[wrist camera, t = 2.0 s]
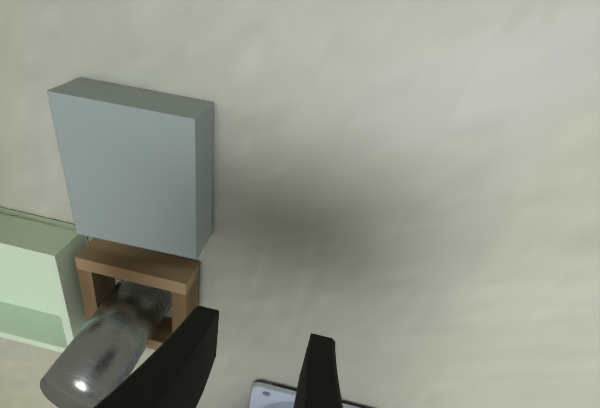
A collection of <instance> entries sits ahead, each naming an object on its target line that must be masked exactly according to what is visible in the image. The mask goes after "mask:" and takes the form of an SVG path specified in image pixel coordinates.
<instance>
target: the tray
mask: <svg viewBox="0 0 600 408" xmlns="http://www.w3.org/2000/svg"><path fill="white" fill-rule="evenodd" d="M87 244H88V239H87V236H85V235H81V234H77V232H76V228H75V225H73V224H69V223H65V222H61V221H56V220H52V219H48V218H44V217H40V216H35V215H31V214H27V213H23V212H19V211H14V210H10V209H6V208H2V207H0V337H4V338H7V339H11V340H15V341H19V342H23V343H27V344H31V345H35V346H39V347H43V348H46V349H50V350H54V351H58V352H62V353H63V351H64V350H65V349H66V348H67V346H68V345H69V344H70V343H71V341H72V340H73V339H74V338H75V336H76V335H77V334H78V333H79V331H80V330H81V329H82V327H83V326H84V325H85V324H86V322H87V318H86V313H85V308H84V303H83V298H82V292H81V287H80V282H79V277H78V272H77V267H76V261H75V256H76V255H77V254H78V253H79V252H80V251H81V250H82V249H83V248H84V247H85V246H86V245H87Z"/></svg>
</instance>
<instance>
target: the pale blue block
mask: <svg viewBox="0 0 600 408" xmlns="http://www.w3.org/2000/svg"><path fill="white" fill-rule="evenodd" d="M47 94H48V99H49V104H50V109H51V113H52V118H53V123H54V128H55V132H56V137H57V142H58V147H59V151H60V156H61V161H62V166H63V170H64V175H65V180H66V185H67V189H68V194H69V199H70V204H71V209H72V213H73V218H74V223H75V228H76V232H77V234H81V235H85V236H90V237H95V238H99V239H104V240H108V241H113V242H118V243H122V244H127V245H132V246H136V247H141V248H146V249H150V250H155V251H159V252H164V253H169V254H173V255H178V256H183V257H187V258H192V259H197V257H198V256H199V254H200V252H201V251H202V249H203V247H204V246H205V244H206V242H207V241H208V239H209V237H210V236H211V234H212V195H213V133H214V102H210V101H205V100H199V99H194V98H189V97H183V96H178V95H173V94H167V93H162V92H157V91H152V90H146V89H141V88H136V87H130V86H125V85H120V84H114V83H109V82H104V81H98V80H93V79H88V78H83V77H80V78H77V79H75V80H72V81H70V82H67V83H65V84H63V85H60V86H58V87H55V88H53V89H50V90H48V91H47Z"/></svg>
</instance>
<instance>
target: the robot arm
mask: <svg viewBox="0 0 600 408" xmlns="http://www.w3.org/2000/svg"><path fill="white" fill-rule="evenodd" d="M218 320H219V311H218V310H214V309H210V308H206V307H202V306H197V307H195V308H194V309H193V310H192V312H191V313H190V314H189V315H188V316H187V318H186V319H185V320H184V321H183V322H182V323H181V324H180V326H179V327H178V328H177V329H176V330H175V331H174V332H173V333H172V334H171V335H170V336H169V337H168V339H167V340H166V341H165V342H164V343H163V344H162V345H161V346H160V347H159V348H158V349H157V350H156V351H155V352H154V353H153V354H152V355H151V356H150V357H149V358H148V359H147V360H146V361H145V362H144V363H143V364H142V365H141V366H140V367H139V368H138V369H136V370H135V371H134V372H133V373H132V374H131V375H130V376H129V377H128V378H127V379H125V380H124V381H123V382H122V383H121V384H120V385H119V386H118V387H117V388H116V389H114V390H113V391H112V392H111V393H110V394H109V395H108V396H106V397H105V398H104V399H103V400H102V401H101V402H99V403H98V404H97V405H96V406H95V407H93V408H196V406H197V404H198V402H199V400H200V397H201V395H202V393H203V391H204V388H205V385H206V383H207V380H208V377H209V374H210V371H211V368H212V366H213V363H214V360H215V357H216V348H217V334H218ZM249 408H360V407H356V406H352V405H348V404H344V403H342V400H341V394H340V388H339V381H338V374H337V366H336V353H335V341H334V340H333V339H332V338H329V337H325V336H320V335H316V334H312V333H311V335H310V339H309V343H308V347H307V350H306V354H305V358H304V362H303V366H302V369H301V373H300V377H299V382H298V387H297V391H293V390H289V389H285V388H281V387H277V386H273V385H269V384H265V383H262V382H256V383H254V384H253V387H252V391H251V397H250V404H249Z"/></svg>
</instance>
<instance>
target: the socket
mask: <svg viewBox="0 0 600 408" xmlns="http://www.w3.org/2000/svg"><path fill="white" fill-rule="evenodd" d="M75 261H76V267H77V272H78V277H79V282H80V287H81V292H82V298H83V303H84V308H85V313H86V318H87V321H88V320H89V319H90V317H91V316H92V315H93V314H94V312H95V311H96V310H97V309H98V307H99V306H100V305H101V304H102V302H103V301H104V300H105V299H106V297H107V296H108V295H109V294H110V292H111V291H112V290H113V288H114V287H115V282H114V278H117V279H122V280H126V281H130V282H134V283H138V284H142V285H146V286H150V287H154V288H158V289H163V290H167V291H171V294H172V318H168V317H164V318H163V320H162V322H161V323H160V325H159V327H158V328H157V330H156V332H155V333H154V335H153V337H152V339H151V340H150V342H149V344H148V345H147V347H146V348H150V349H154V350H157V349H158V348H159V347H160V346H161V345H162V344H163V343H164V342H165V341H166V340H167V339H168V337H169V336H170V335H171V334H172V333H173V332H174V331H175V330H176V329H177V328H178V327H179V326H180V324H181V323H182V322H183V321H184V320H185V319H186V318H187V316H188V315H189V314H190V313H191V312H192V310H193V309H194V308H195V307H197V306H198V297H199V264H200V262H199V261H195V260H191V259H187V258H183V257H179V256H174V255H170V254H166V253H162V252H158V251H153V250H149V249H145V248H141V247H136V246H132V245H127V244H122V243H118V242H113V241H108V240H104V239H99V238H95V237H94V238H93V239H92V240H91V241H90V242H89V243H88V244H87V245H86V246H85V247H84V248H83V249H82V250H81V251H80V252H79V253H78V254H77V255H76V256H75Z"/></svg>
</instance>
